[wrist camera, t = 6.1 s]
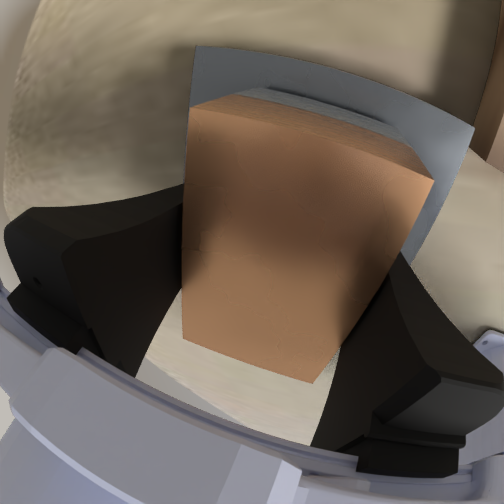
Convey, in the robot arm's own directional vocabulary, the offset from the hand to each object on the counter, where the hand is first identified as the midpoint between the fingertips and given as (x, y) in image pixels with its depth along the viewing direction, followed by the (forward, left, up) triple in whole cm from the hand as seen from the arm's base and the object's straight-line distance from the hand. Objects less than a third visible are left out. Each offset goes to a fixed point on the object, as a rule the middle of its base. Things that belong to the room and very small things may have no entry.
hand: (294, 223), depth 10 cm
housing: (0, 0, -1) cm, 1 cm away
